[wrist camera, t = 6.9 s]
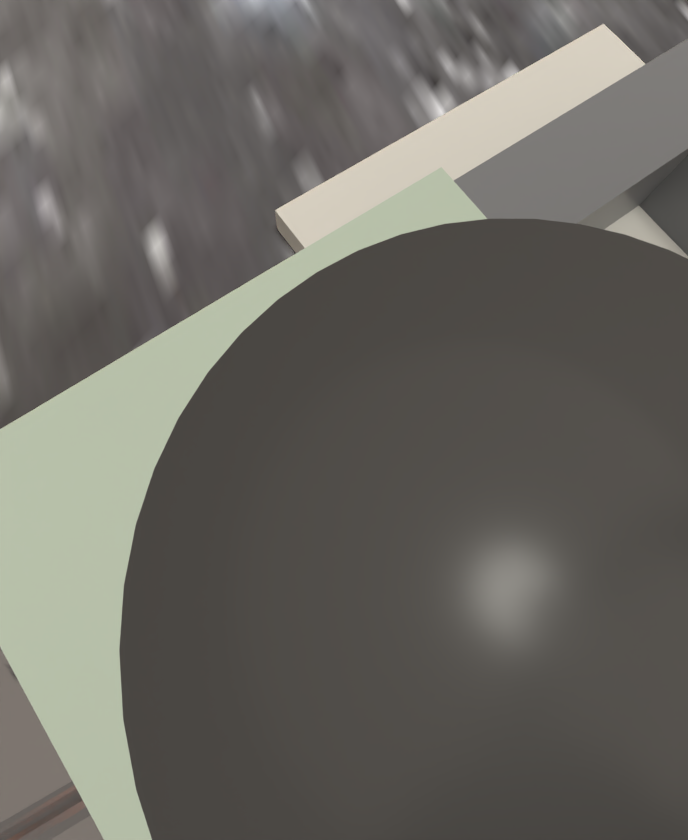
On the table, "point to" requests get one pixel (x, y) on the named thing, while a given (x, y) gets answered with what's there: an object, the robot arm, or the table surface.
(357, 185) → the plate
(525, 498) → the plug
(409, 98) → the table surface
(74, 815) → the robot arm
